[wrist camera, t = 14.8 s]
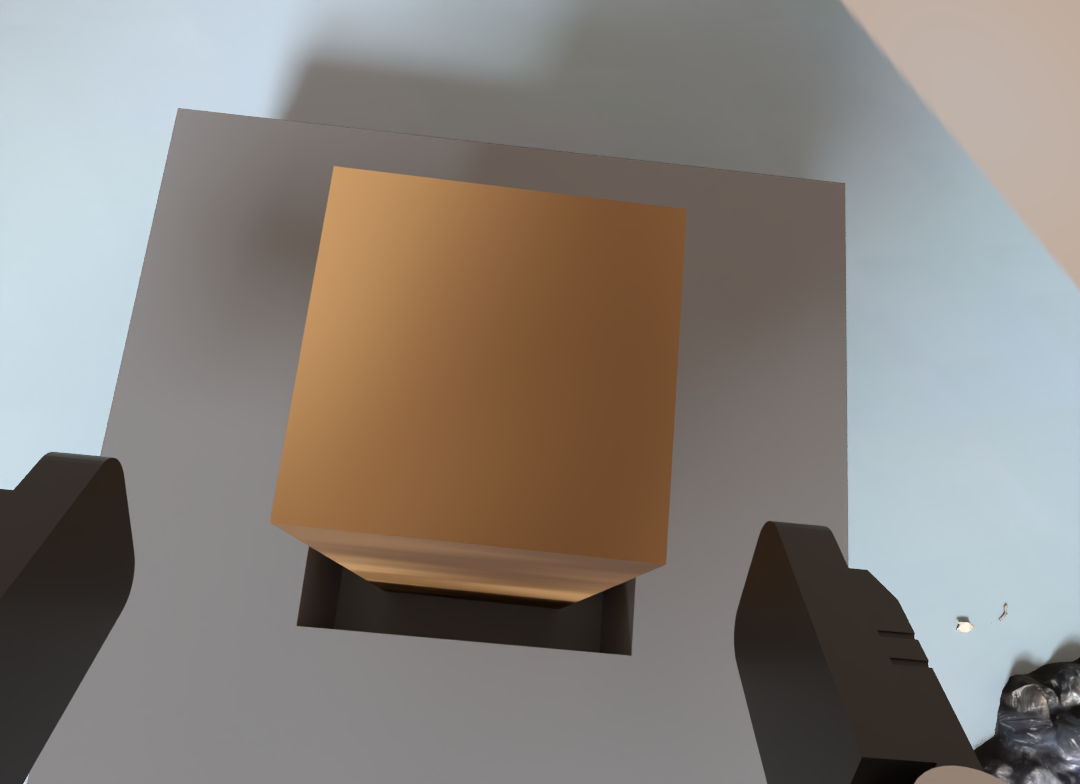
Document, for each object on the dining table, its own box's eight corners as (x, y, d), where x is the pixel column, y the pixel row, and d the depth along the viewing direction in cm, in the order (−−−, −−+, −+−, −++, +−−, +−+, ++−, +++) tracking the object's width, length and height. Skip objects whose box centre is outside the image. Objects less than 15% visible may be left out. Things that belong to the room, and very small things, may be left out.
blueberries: (821, 726, 22) (848, 739, 20) (1030, 496, 23) (1074, 488, 21) (1038, 946, 21) (1087, 981, 19) (1244, 694, 22) (1310, 703, 20)
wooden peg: (385, 591, 21) (269, 523, 9) (409, 421, 22) (334, 165, 10) (559, 609, 21) (666, 564, 9) (574, 439, 22) (686, 208, 10)
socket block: (125, 804, 20) (10, 856, 15) (239, 218, 23) (178, 108, 19) (761, 855, 20) (851, 920, 15) (770, 275, 24) (845, 183, 19)
